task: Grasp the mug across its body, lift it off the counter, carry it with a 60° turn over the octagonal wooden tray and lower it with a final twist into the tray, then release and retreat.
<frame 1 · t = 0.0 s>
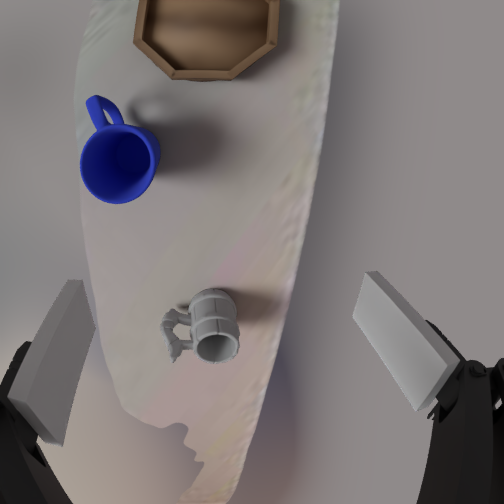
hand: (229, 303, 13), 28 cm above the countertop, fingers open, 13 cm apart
octagonal wooden tray: (206, 23, 28), on the countertop
mug 2: (199, 305, 46), on the countertop
mug: (130, 139, 33), on the countertop
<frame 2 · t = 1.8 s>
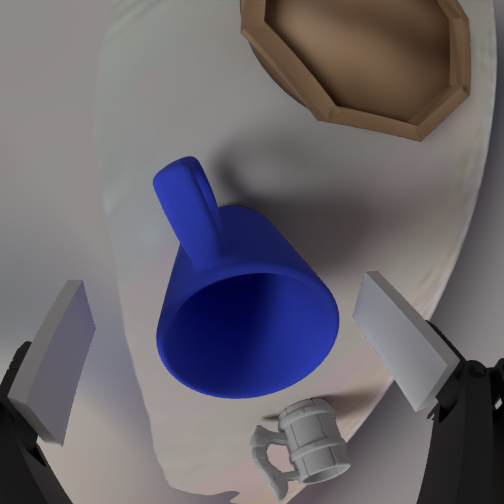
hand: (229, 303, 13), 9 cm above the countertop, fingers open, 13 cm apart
octagonal wooden tray: (359, 20, 14), on the countertop
mug 2: (288, 413, 33), on the countertop
mug: (218, 222, 20), on the countertop
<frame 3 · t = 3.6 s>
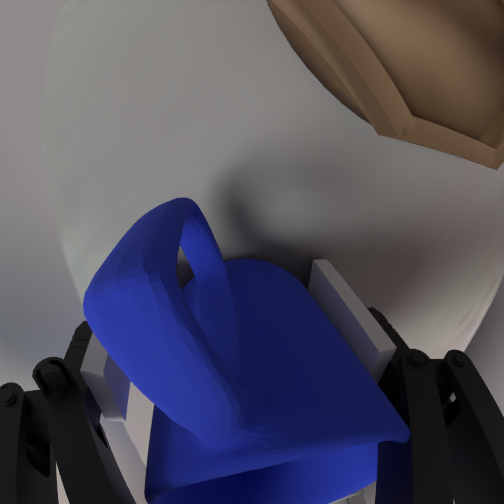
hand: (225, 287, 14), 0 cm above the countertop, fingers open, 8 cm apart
octagonal wooden tray: (416, 1, 9), on the countertop
mug: (224, 277, 14), on the countertop, touching gripper
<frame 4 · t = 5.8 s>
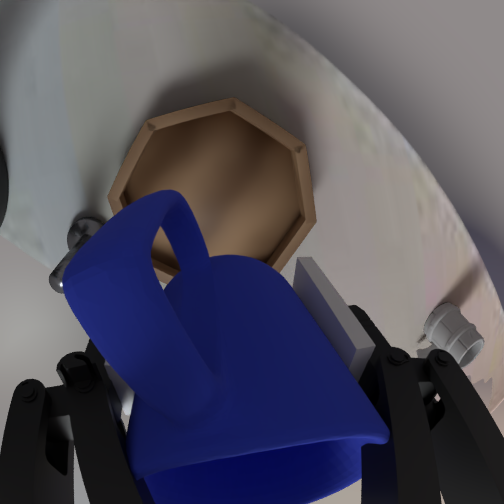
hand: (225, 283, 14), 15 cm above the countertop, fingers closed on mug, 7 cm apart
octagonal wooden tray: (212, 196, 27), on the countertop
mug 2: (430, 327, 42), on the countertop
mug: (210, 273, 14), point 14 cm above the countertop, touching gripper
stand rod: (90, 240, 27), on the countertop
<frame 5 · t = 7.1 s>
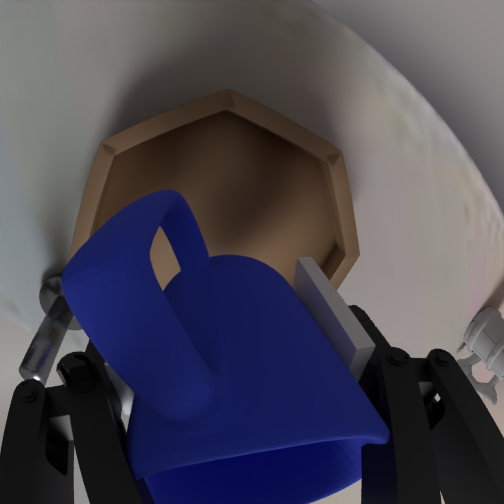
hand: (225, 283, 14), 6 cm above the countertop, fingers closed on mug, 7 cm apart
octagonal wooden tray: (215, 232, 20), on the countertop
mug 2: (470, 334, 35), on the countertop
mug: (210, 273, 14), point 6 cm above the countertop, touching gripper
stand rod: (68, 300, 20), on the countertop
when the fingers open (4 cm above the countertop, at t = 8.0 s): mug drops 1 cm, resting on octagonal wooden tray.
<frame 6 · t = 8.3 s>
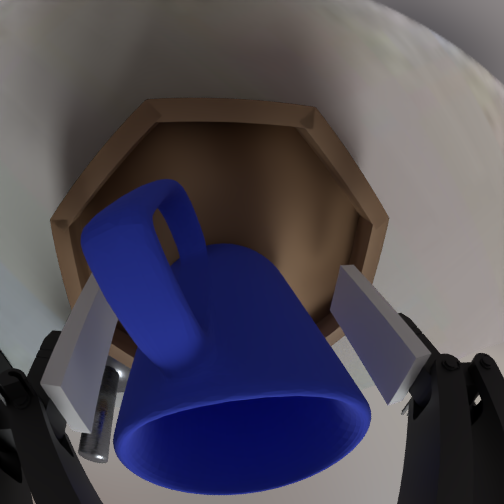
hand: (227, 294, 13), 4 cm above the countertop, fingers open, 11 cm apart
octagonal wooden tray: (219, 251, 17), on the countertop
mug: (207, 261, 15), point 2 cm above the countertop, touching octagonal wooden tray
stand rod: (109, 366, 20), on the countertop
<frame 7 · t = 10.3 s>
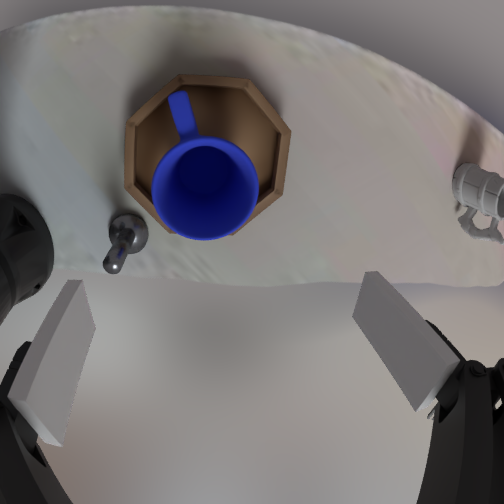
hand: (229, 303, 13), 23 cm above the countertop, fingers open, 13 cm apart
octagonal wooden tray: (205, 152, 31), on the countertop
mug 2: (460, 193, 40), on the countertop
mug: (198, 151, 29), point 2 cm above the countertop, touching octagonal wooden tray
stand rod: (129, 232, 34), on the countertop
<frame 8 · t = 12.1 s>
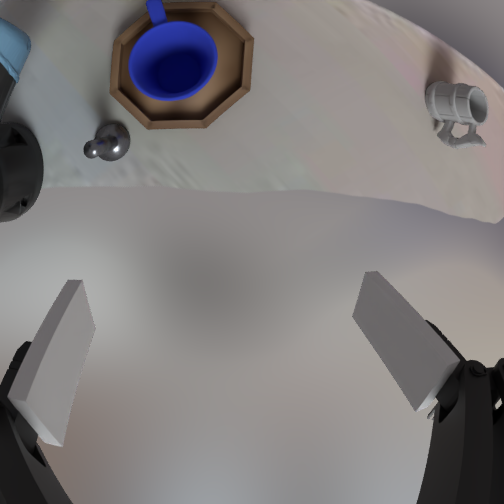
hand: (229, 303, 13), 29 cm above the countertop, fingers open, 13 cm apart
octagonal wooden tray: (181, 66, 31), on the countertop
mug 2: (436, 111, 39), on the countertop
mug: (174, 61, 29), point 2 cm above the countertop, touching octagonal wooden tray
stand rod: (112, 142, 33), on the countertop
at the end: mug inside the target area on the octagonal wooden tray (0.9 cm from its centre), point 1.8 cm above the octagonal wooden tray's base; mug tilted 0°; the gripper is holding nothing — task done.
